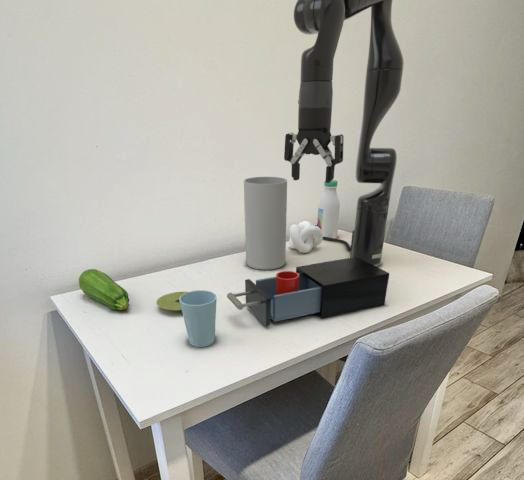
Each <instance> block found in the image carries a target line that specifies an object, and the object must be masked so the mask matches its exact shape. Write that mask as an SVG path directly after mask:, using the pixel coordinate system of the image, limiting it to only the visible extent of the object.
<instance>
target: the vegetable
mask: <svg viewBox="0 0 524 480" xmlns="http://www.w3.org/2000/svg"><path fill="white" fill-rule="evenodd" d="M78 286H79V289H80V290H81V291H82V292H83V293H84V295H86V296H87V297H90V298H92V299H93V300H96V301H98V302H99V303H102V304H104V305H106V306H107V307H109V308H110V309H111V310H117V311H123V310H126V309H127V308H128V307H129V306H130V305H129V304H130V298H129V293H128V292H127V290H126V289H125V288H123V287H122V286H121V285H119V284H118V283H117V282H115V280H114V279H112V278H111V277H110V276H109V275H108V274H106V273H105V272H103V271H101V270H98V269H95V268H90V269H86V270H84V271H83V272H82V273H81V274H80V275H79V277H78Z"/></svg>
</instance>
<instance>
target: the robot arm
mask: <svg viewBox="0 0 524 480" xmlns="http://www.w3.org/2000/svg"><path fill="white" fill-rule="evenodd" d="M392 7H393V0H297V1H296V2H295V5H294V9H293V21H294V24H295V28H296V29H297V30H298V31H299V32H300V33H302V34H304V35H307V36H308V35H309V36H310V35H316V39H315V42H314V44H313V45H312V46H311V47H309V48H306V49H304V50H303V51H302V53H301V57H300V74H299V75H300V76H299V79H300V80H299V81H300V82H299V90H298V101H297V105H298V108H297V109H298V110H297V111H298V113H297V115H298V117H297V129H298V131H297V133H294V132H288V133H286V134H285V136H284V138H285V139H284V151H283V152H284V153H283V154H284V155H283V157H284V158H283V159H284V161H286V162H289V163H290V164H291V178H292V180H293V181H299V180H300V174H301V172H300V171H301V163H300V161H301V159H302V158H303V157H304V156H305V155H313V156H318V155H320V157H321V158H322V159H323V160H324V162H325V164H326V165H327V166H326V167H325V180H324V182H326V183H330V182H331V180H334V178H335V168H336V165H338V164H341V163H342V162H343V161H344V142H345V141H344V134H342V133H341V134H337V135H335V134H334V135H332V134H331V129H332V127H331V125H332V113H333V112H332V111H333V97H334V93H333V92H334V91H333V89H334V88H333V78H334V59H335V56H336V53H337V52H336V51H337V49H338V44H339V40H340V36H341V34H342V31H343V27H344V22H345V21H347V20H349V19H351V18H353V17H355V16H357V15H360V13H362V12H364V11H366V10H367V9H369V8H370V29H369V30H370V32H369V41H368V43H369V44H368V53H367V62H366V69H365V80H364V91H363V107H362V120H361V127H360V134H359V140H358V148H357V154H356V155H357V156H356V160H355V171H354V173H355V180H356V182H357V183H360V184H379V186H378V187H377V188H376V189H374V190H372V191H370V192H367V193H363V194H362V195H360V196H358V198H357V202H356V209H355V210H356V211H355V221H354V229H353V230H352V233H351V242H350V244H349V242H347V241H346V240H344V239H340V238H328V237H323V238H322V240H325V241H330V242H335V243H336V242H337V243H342V244H344V245H345V246H346V251H348V252H350V253H349V258H352V257H359V258H361V259H363V260H365V261H366V262H368V263H370V264H372V265H374V266H376V267H378V268H379V266H381V265H382V258H383V257H382V255H383V249H384V242H385V236H386V230H387V229H386V228H387V222H388V214H389V207H390V201H391V193H392V188H393V183H394V177H395V173H396V167H397V159H398V155H397V151H396V149H395V148H392V147H371V144H372V140H373V137H374V135H375V133H376V131H377V129H378V127H379V126H380V124H381V123H382V121H383V119H384V118H385V116H386V115H387V114H388V113H389V111H390V109H391V108H392V107H393V105H394V104H395V102H396V100H397V99H398V97H399V95H400V93H401V87H402V81H403V72H404V71H403V70H404V56H403V52H402V49H401V47H400V44H399V42H398V40H397V37H396V35H395V32H394V27H393V22H392V9H393V8H392ZM296 141H297V144H298V145H299V146H298V147H297V148H296V150H295V152H294V147H295V146H294V145H295V143H296ZM331 142H332V146H334V156H333V153H332V151H331V149H330V147H329V144H330V143H331ZM315 226H316V225H315Z"/></svg>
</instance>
